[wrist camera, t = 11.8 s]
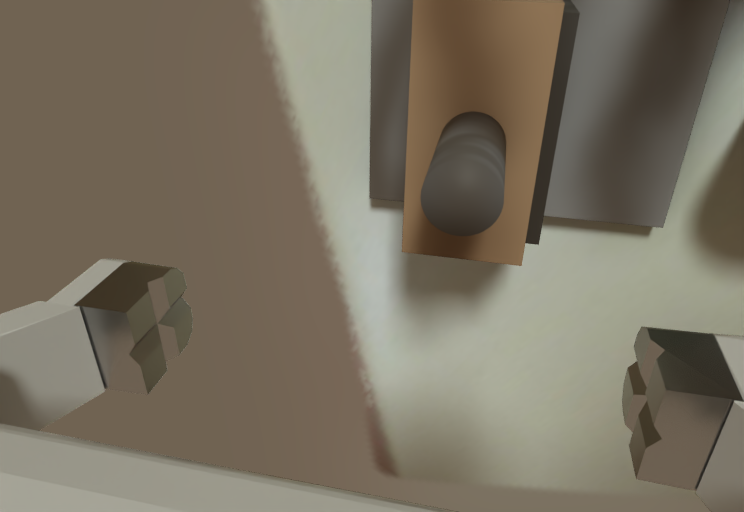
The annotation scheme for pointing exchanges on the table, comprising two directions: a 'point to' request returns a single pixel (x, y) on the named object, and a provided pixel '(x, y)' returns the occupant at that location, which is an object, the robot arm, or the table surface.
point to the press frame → (582, 105)
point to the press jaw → (483, 124)
